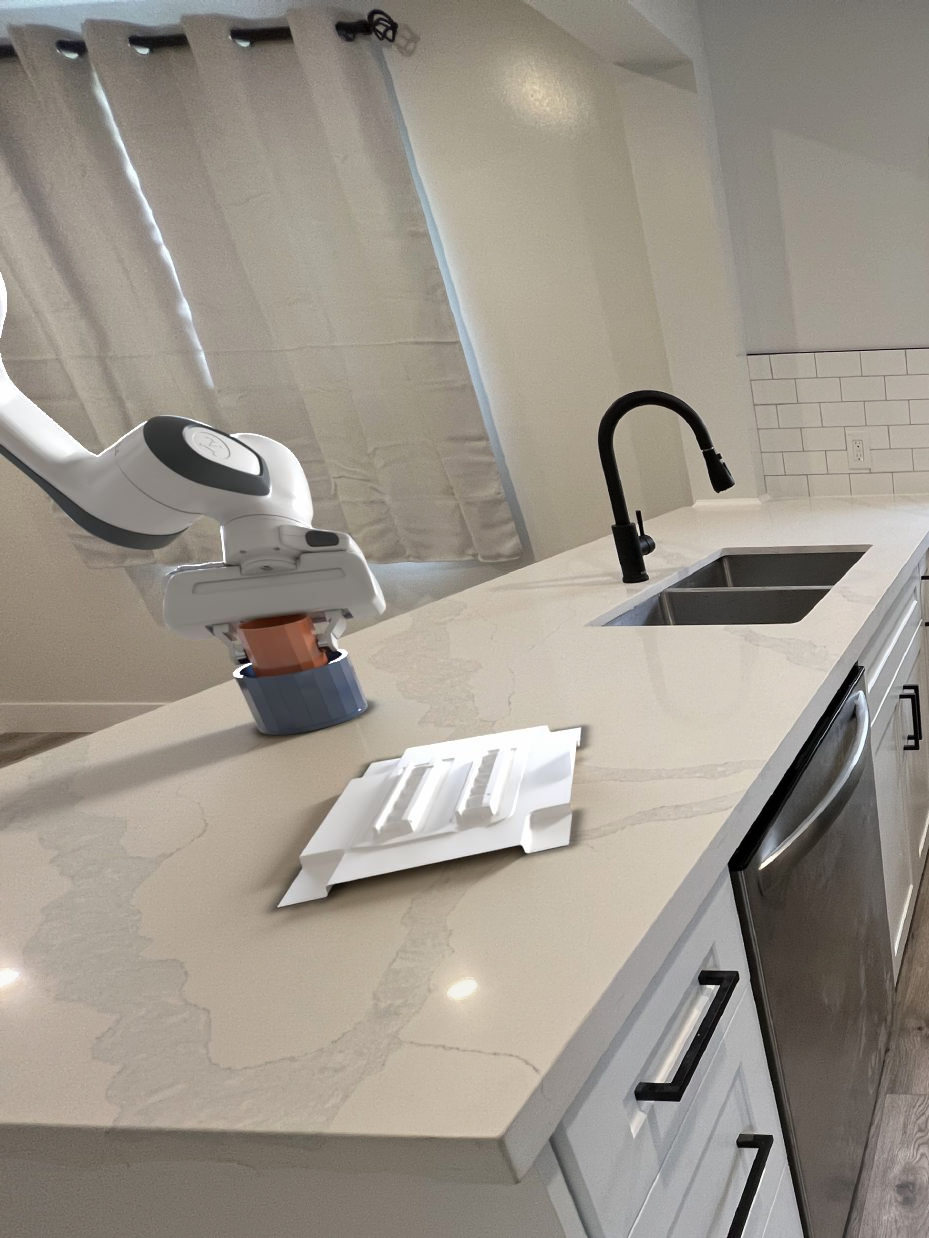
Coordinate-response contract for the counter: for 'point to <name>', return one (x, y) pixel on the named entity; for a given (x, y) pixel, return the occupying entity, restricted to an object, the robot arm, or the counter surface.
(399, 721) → the counter surface
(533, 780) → the tray
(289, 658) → the terracotta cup
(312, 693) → the stack cup
